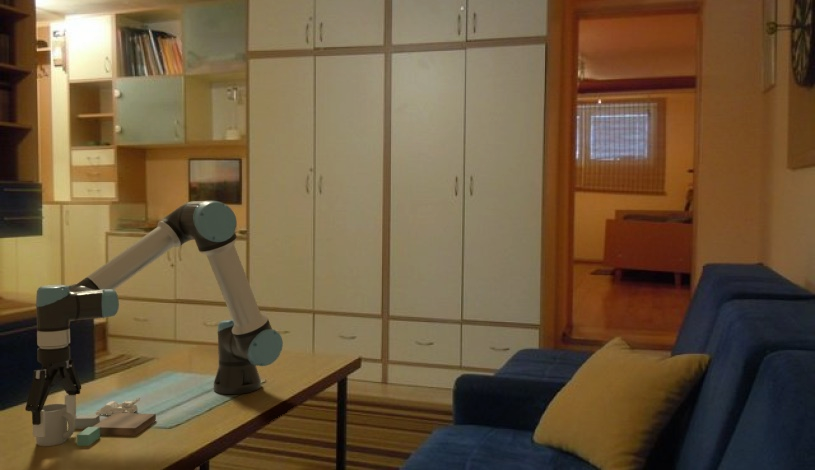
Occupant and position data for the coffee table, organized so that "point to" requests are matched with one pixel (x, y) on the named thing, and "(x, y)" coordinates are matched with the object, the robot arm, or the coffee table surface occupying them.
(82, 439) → the teal brick
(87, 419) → the grey brick
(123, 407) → the toy car
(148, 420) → the walnut block
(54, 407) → the cup
